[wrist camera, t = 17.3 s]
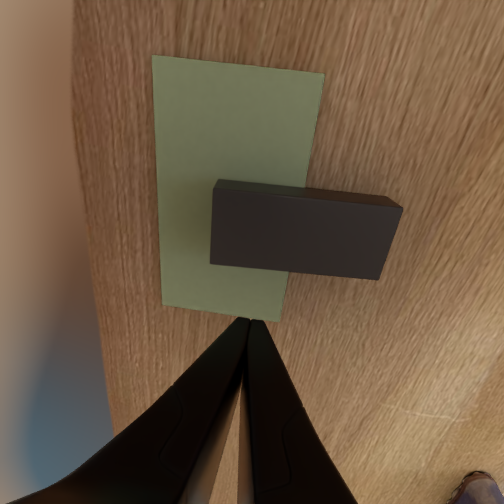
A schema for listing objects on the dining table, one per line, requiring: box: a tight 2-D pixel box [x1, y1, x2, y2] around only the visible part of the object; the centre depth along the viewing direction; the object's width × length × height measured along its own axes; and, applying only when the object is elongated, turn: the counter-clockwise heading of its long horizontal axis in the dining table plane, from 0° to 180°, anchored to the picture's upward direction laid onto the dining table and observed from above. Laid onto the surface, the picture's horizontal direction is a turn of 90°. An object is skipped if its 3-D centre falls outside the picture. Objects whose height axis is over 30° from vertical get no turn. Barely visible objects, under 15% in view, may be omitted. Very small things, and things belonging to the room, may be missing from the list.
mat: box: [152, 55, 325, 322], centre depth 19 cm, size 16×9×1 cm, turn 174°
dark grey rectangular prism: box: [210, 179, 403, 280], centre depth 17 cm, size 2×4×10 cm
